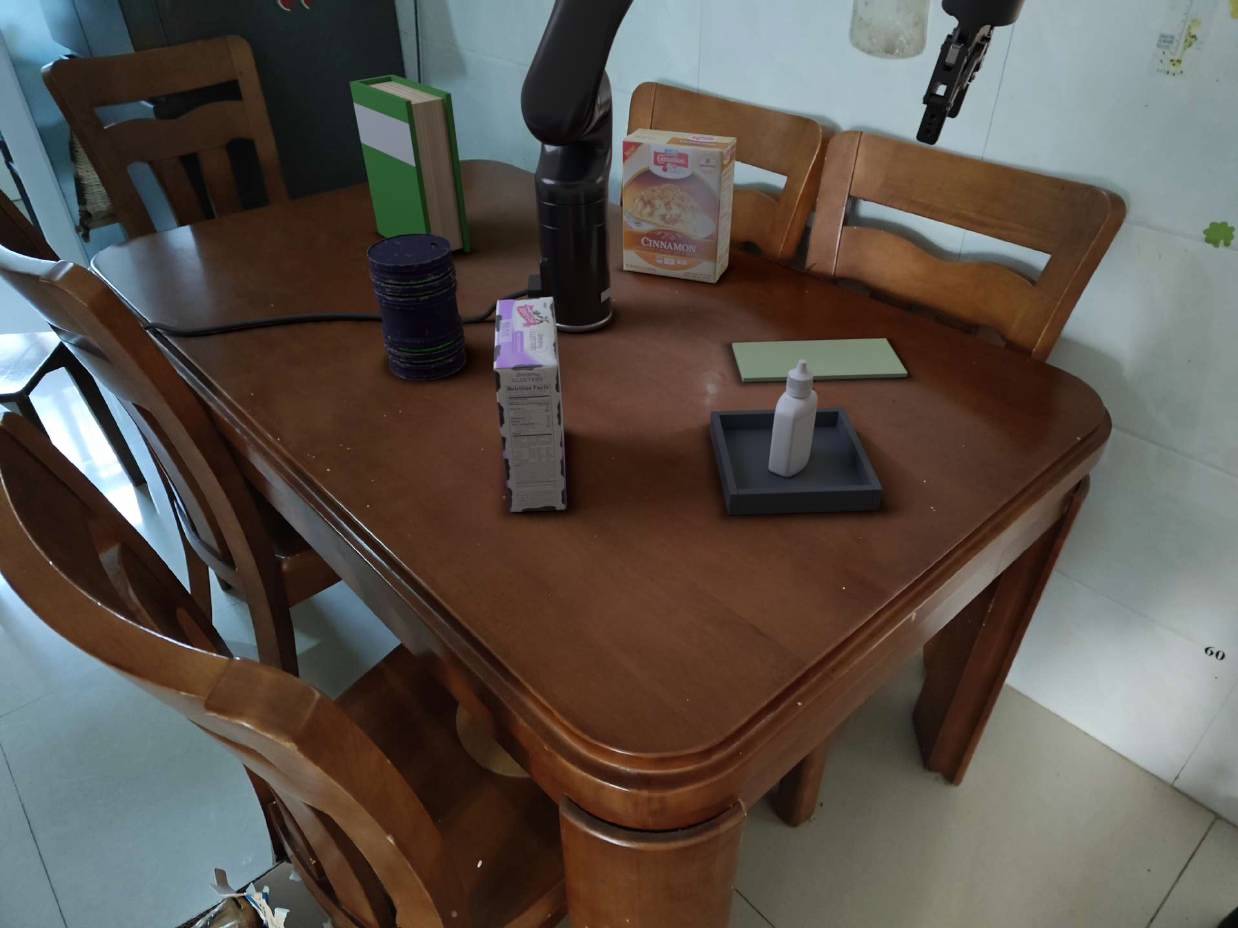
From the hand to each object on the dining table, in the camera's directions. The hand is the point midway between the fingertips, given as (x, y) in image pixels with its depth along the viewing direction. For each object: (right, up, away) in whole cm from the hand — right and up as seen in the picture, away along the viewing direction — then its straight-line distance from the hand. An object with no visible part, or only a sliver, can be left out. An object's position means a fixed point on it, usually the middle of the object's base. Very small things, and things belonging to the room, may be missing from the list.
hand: (936, 128), depth 90 cm
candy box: (-43, -37, -4) cm, 57 cm away
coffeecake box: (-26, -7, +37) cm, 46 cm away
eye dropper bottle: (-17, -37, -5) cm, 41 cm away
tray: (-17, -37, -5) cm, 41 cm away
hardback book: (-67, 0, +48) cm, 83 cm away
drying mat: (-10, -24, +13) cm, 29 cm away
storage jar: (-59, -24, +15) cm, 65 cm away
